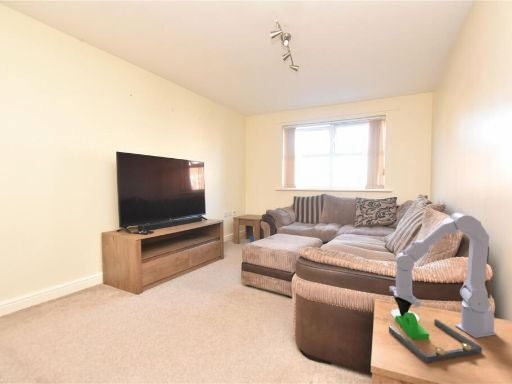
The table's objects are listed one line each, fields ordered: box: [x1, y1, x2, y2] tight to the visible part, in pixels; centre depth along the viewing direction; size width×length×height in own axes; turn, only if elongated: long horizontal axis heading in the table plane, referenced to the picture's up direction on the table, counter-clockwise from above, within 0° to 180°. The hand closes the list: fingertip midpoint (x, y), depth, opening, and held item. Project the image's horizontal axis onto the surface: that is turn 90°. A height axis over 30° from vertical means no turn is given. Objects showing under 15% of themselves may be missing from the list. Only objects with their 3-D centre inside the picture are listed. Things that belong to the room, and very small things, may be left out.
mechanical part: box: [394, 312, 430, 340], centre depth 98 cm, size 12×6×8 cm, turn 177°
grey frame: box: [388, 318, 483, 364], centre depth 90 cm, size 21×18×3 cm
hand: (403, 315), depth 105 cm, fingers closed
